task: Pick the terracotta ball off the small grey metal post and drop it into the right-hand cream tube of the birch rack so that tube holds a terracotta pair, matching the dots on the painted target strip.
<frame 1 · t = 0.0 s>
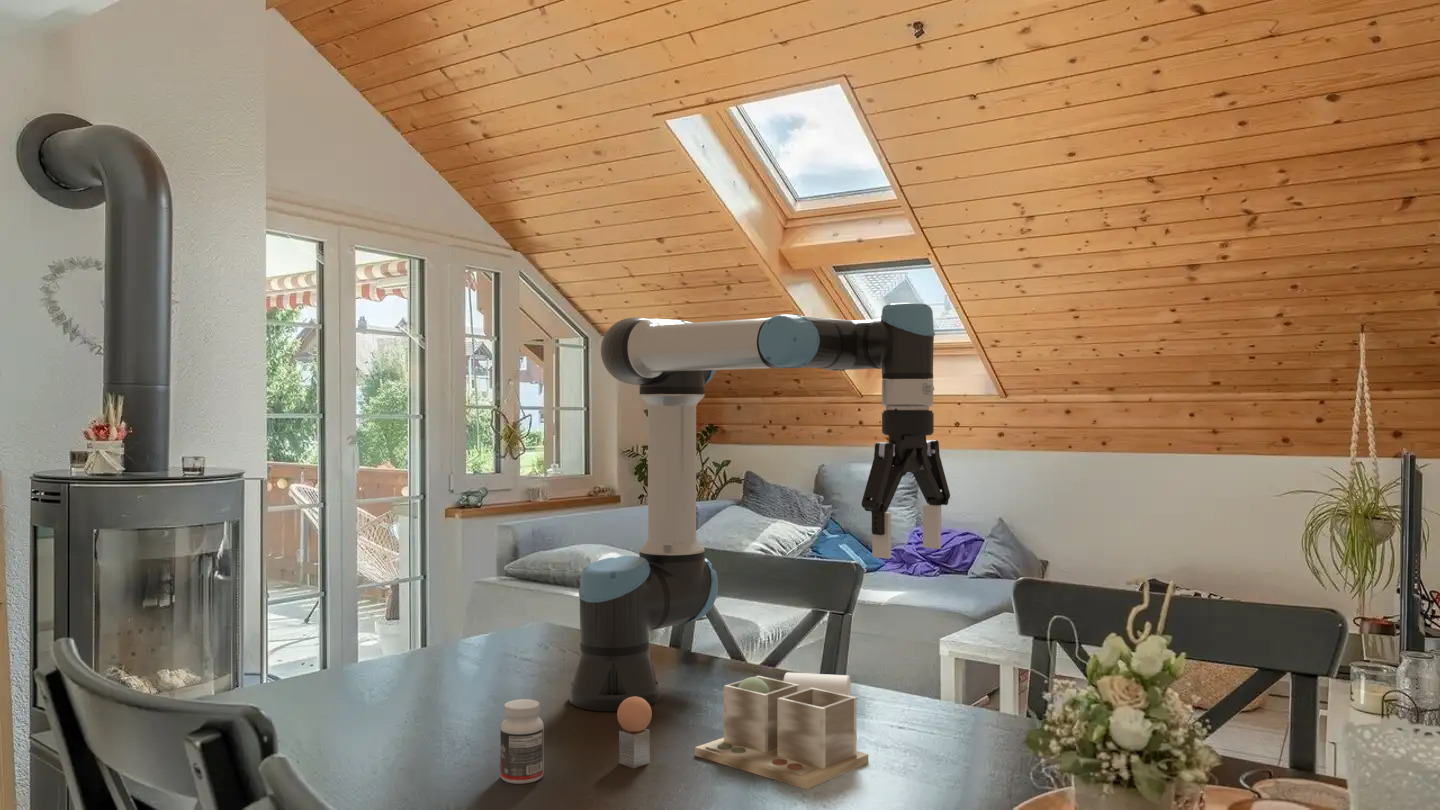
hand: (907, 552, 161), 28 cm above the table, fingers open, 13 cm apart
ball sage upper: (753, 694, 158), point 8 cm above the table, tilted 29°, touching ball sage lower, rack
mug: (818, 723, 171), on the table
ball terracotta in tube: (820, 738, 151), point 4 cm above the table, touching rack
rack: (780, 759, 153), on the table
pill bottle: (522, 779, 146), on the table
post: (634, 763, 152), on the table
ball terracotta: (634, 714, 152), point 7 cm above the table, touching post
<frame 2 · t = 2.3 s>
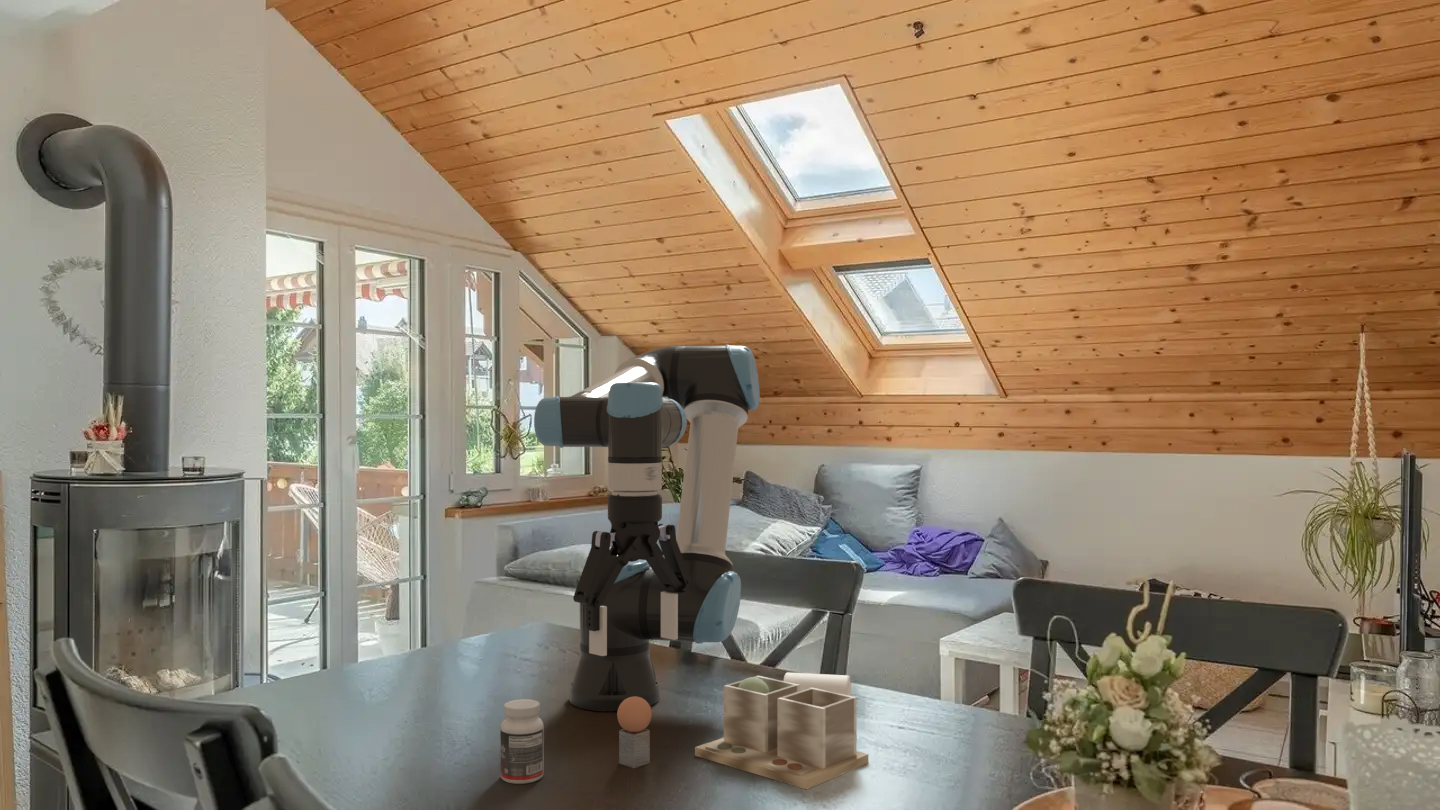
hand: (634, 646, 152), 16 cm above the table, fingers open, 13 cm apart
nothing on the table moved.
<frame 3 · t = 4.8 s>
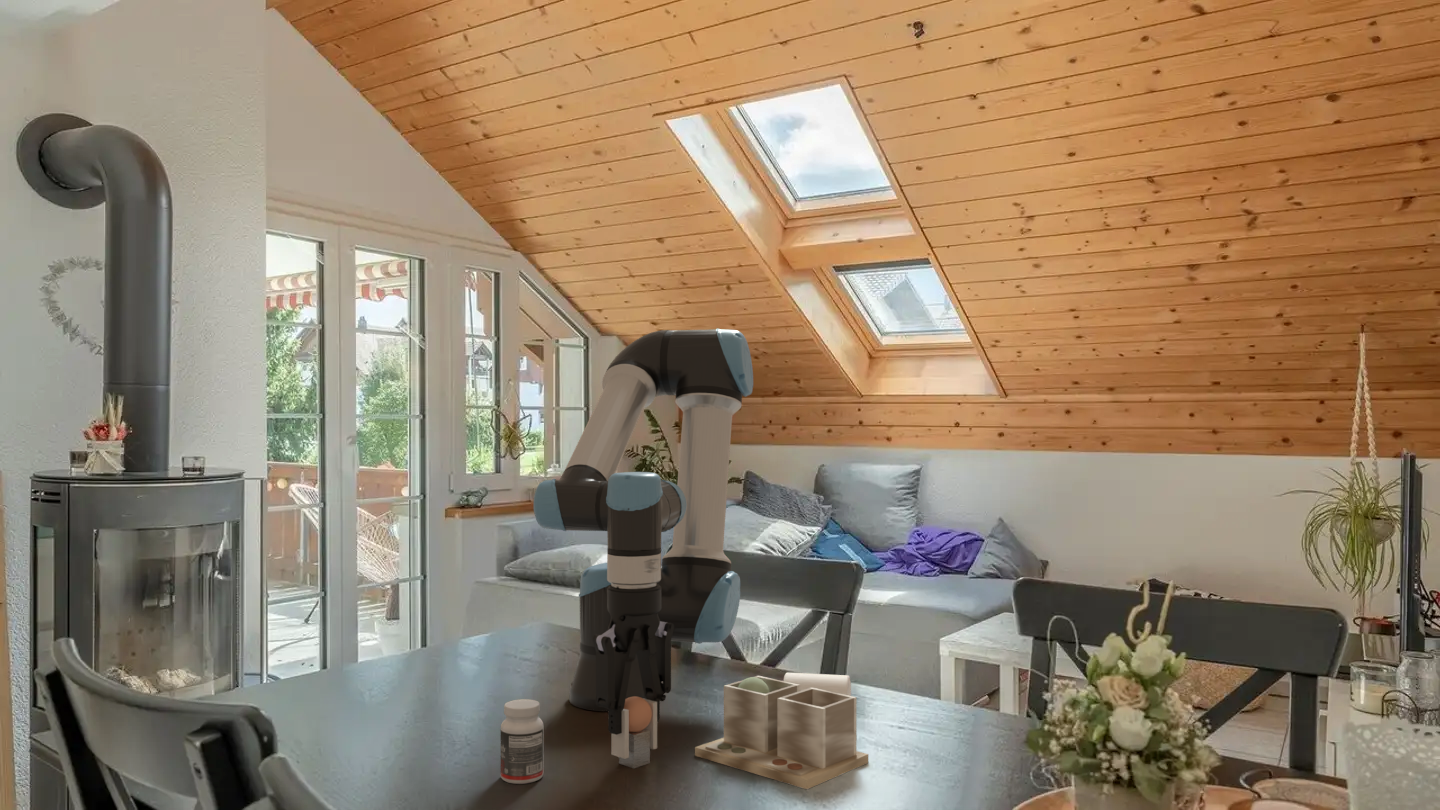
hand: (634, 750, 152), 2 cm above the table, fingers closed on ball terracotta, 5 cm apart
ball terracotta: (634, 714, 152), point 7 cm above the table, touching gripper, post
everything else where it was.
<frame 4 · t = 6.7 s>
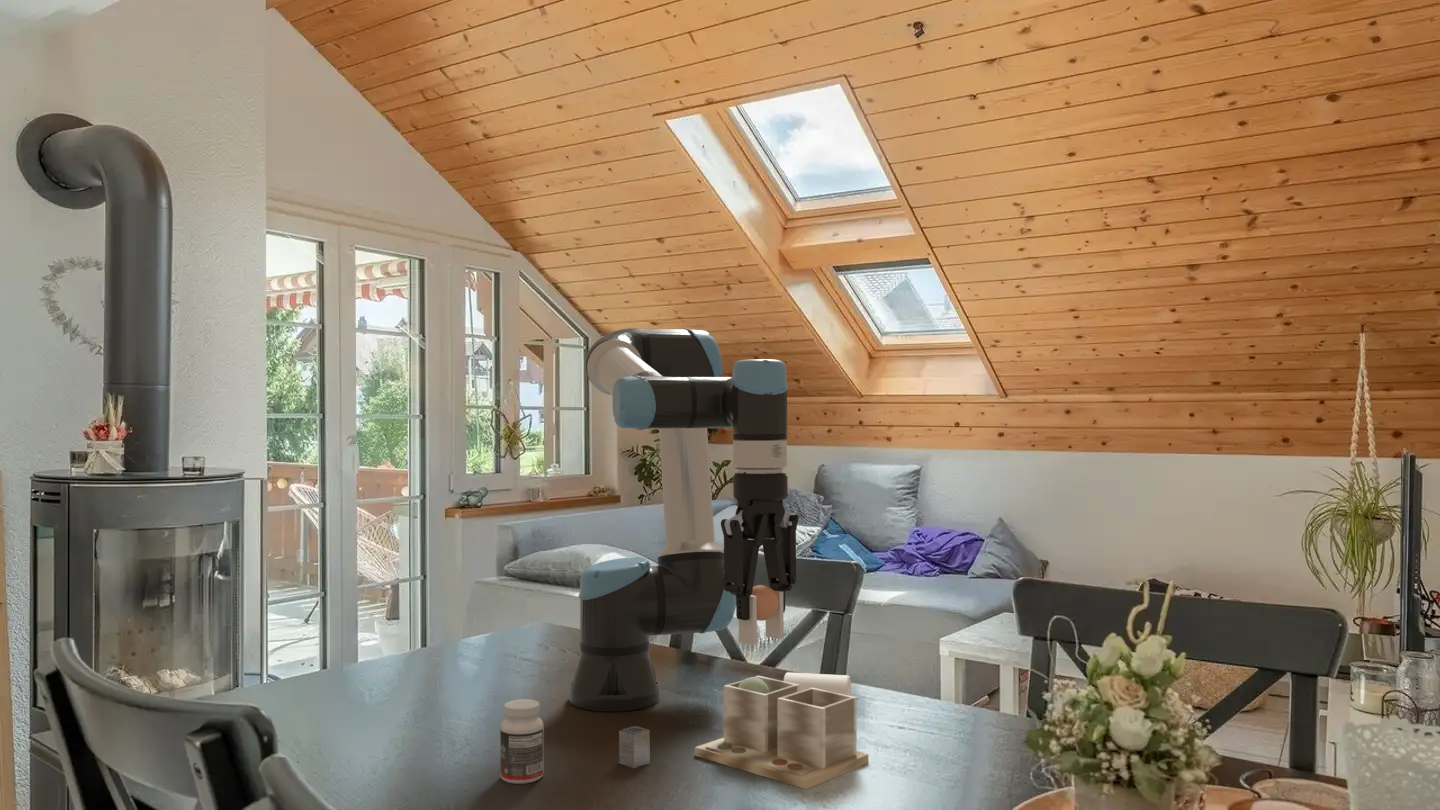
hand: (761, 639, 151), 17 cm above the table, fingers closed on ball terracotta, 5 cm apart
ball terracotta: (760, 602, 151), point 23 cm above the table, touching gripper
everything else where it was.
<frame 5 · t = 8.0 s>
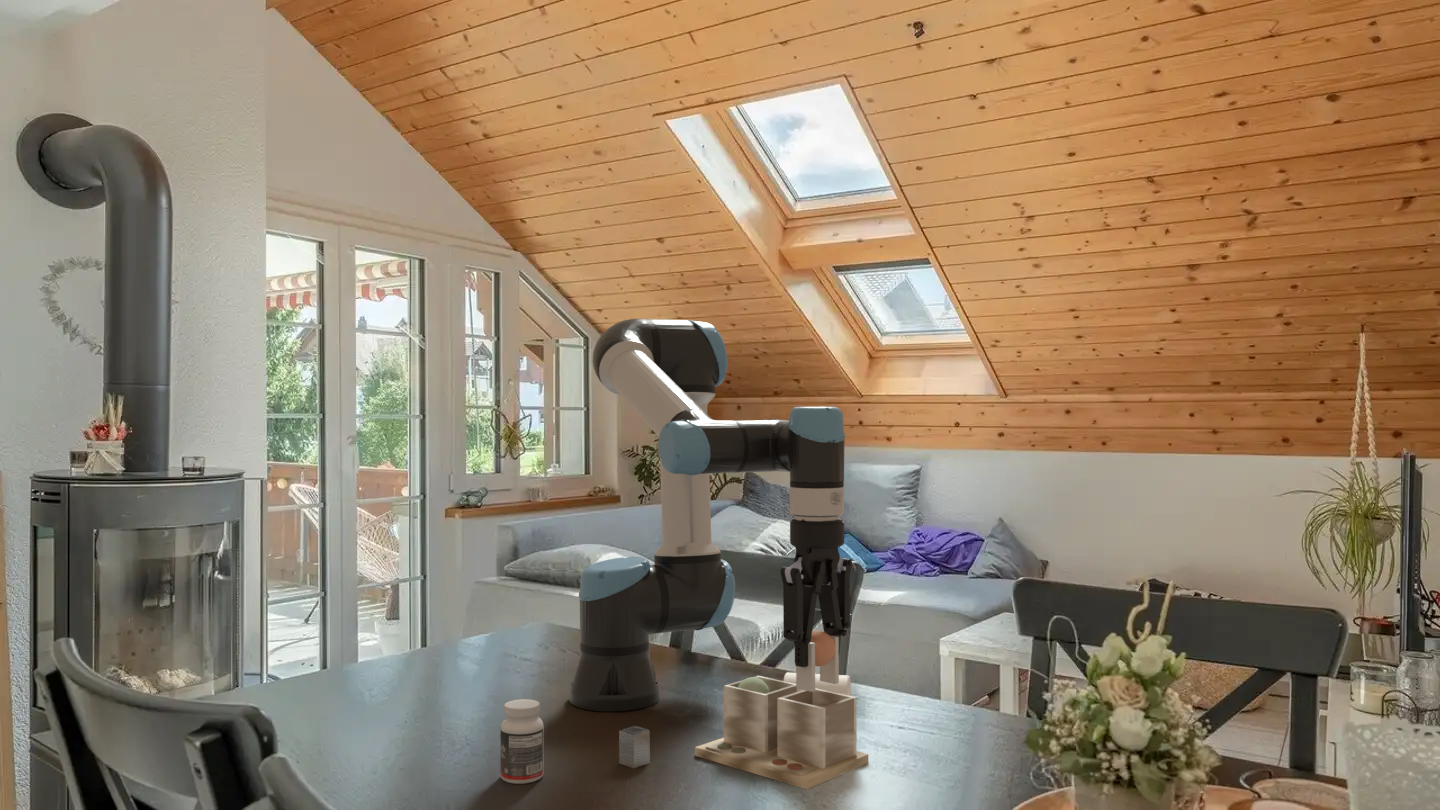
hand: (817, 685, 151), 11 cm above the table, fingers closed on ball terracotta, 5 cm apart
ball terracotta: (817, 648, 151), point 16 cm above the table, touching gripper
everything else where it was.
when the fingers open (10 cm above the table, at t = 8.8 s): ball terracotta drops 7 cm and tips over, resting on ball terracotta in tube, rack.
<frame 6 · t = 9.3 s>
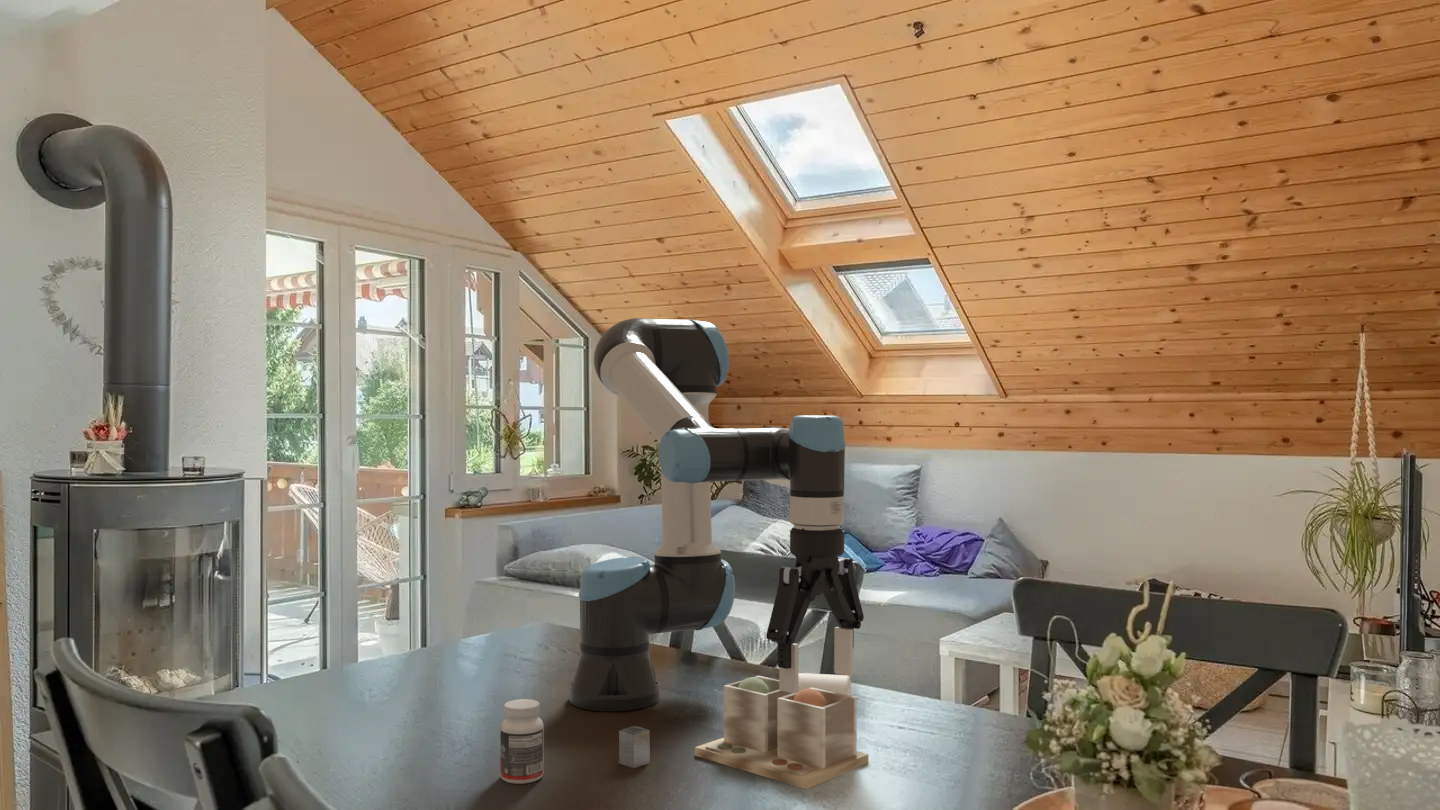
hand: (817, 682, 151), 11 cm above the table, fingers open, 12 cm apart
ball terracotta in tube: (823, 738, 151), point 4 cm above the table, tilted 10°, touching ball terracotta, rack
ball terracotta: (809, 706, 152), point 8 cm above the table, tilted 46°, touching ball terracotta in tube, rack
everything else where it was.
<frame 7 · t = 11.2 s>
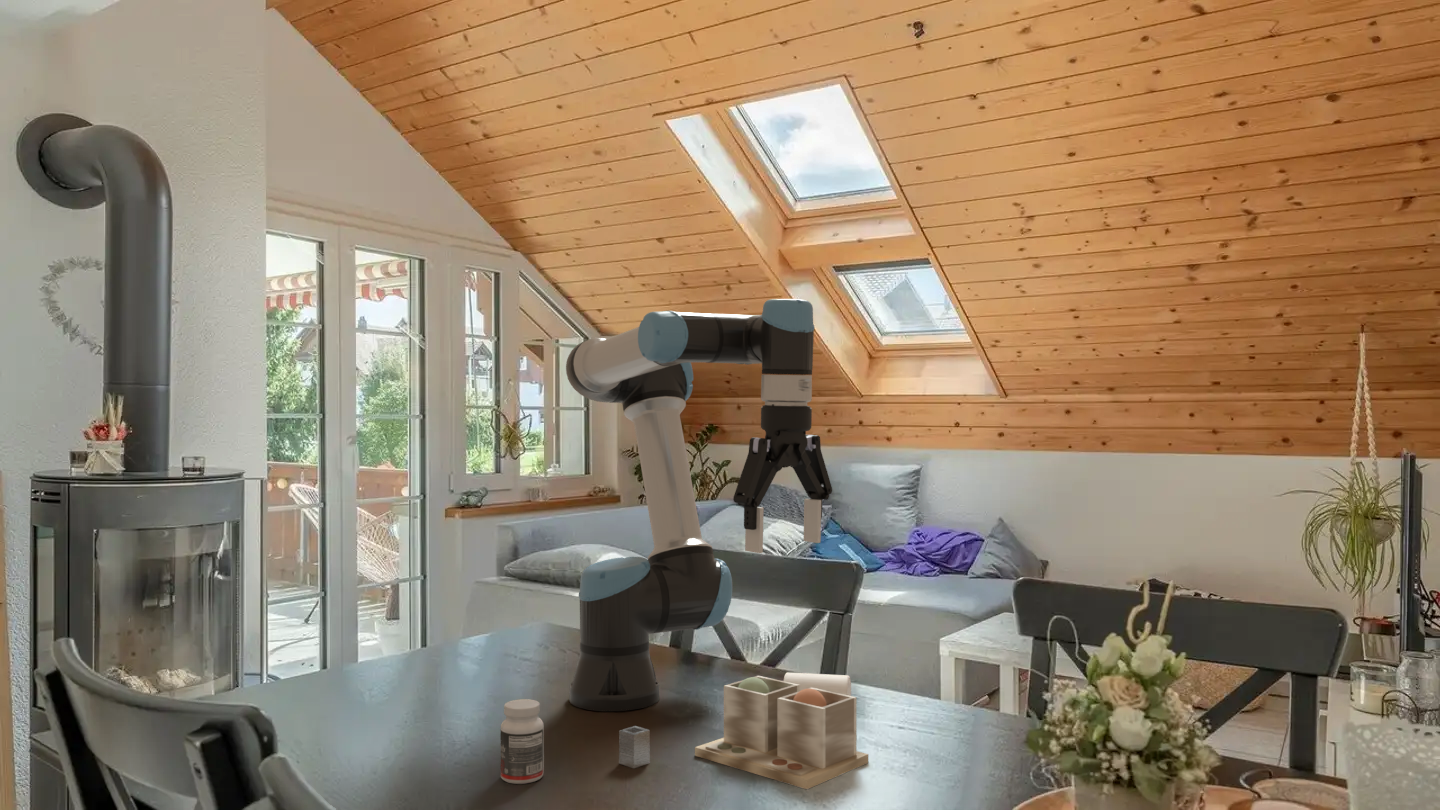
hand: (783, 546, 162), 29 cm above the table, fingers open, 13 cm apart
nothing on the table moved.
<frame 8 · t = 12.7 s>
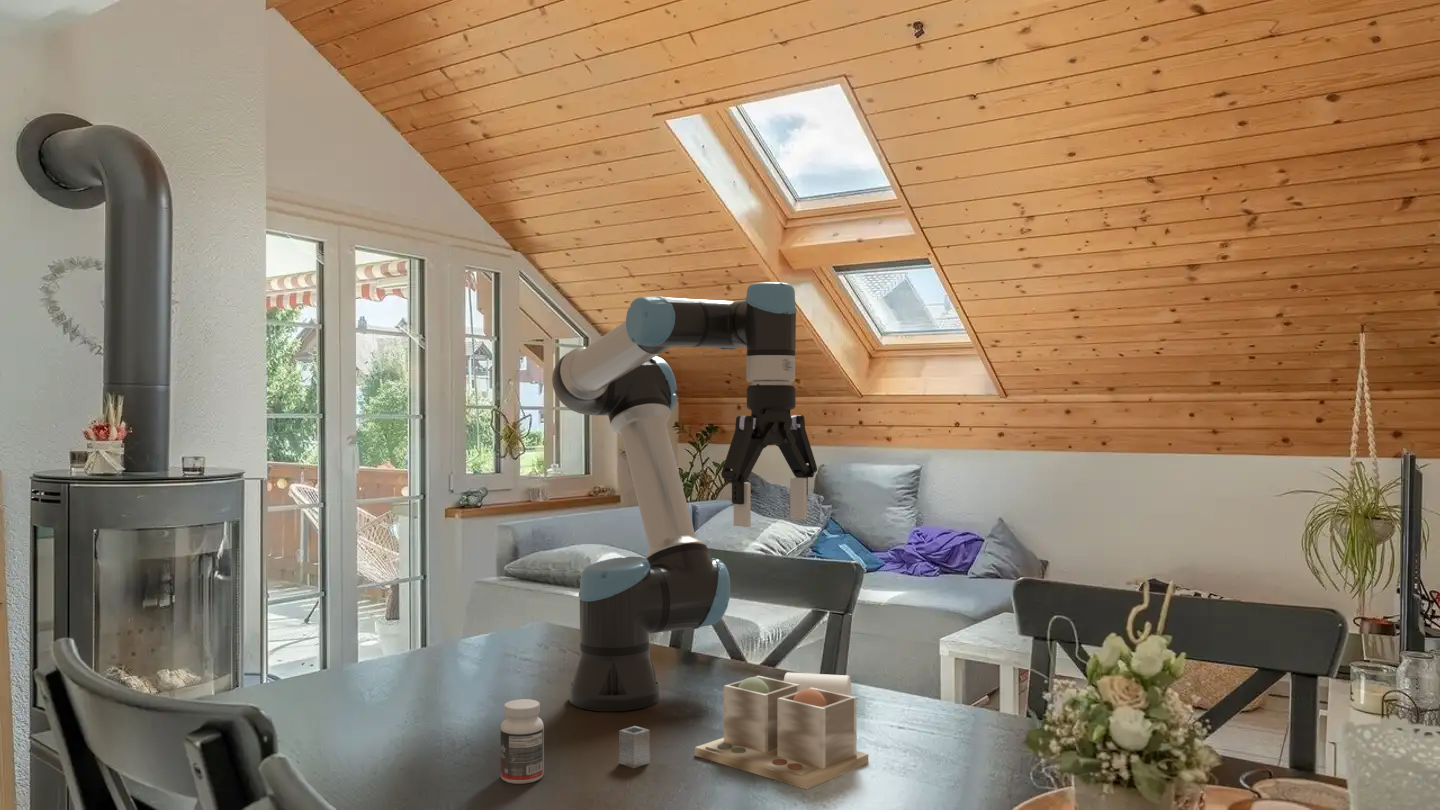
hand: (771, 522, 167), 32 cm above the table, fingers open, 13 cm apart
nothing on the table moved.
at the end: ball terracotta 1.1 cm from the target spot on the rack, point 8.0 cm above the rack's base; the gripper is holding nothing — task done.
